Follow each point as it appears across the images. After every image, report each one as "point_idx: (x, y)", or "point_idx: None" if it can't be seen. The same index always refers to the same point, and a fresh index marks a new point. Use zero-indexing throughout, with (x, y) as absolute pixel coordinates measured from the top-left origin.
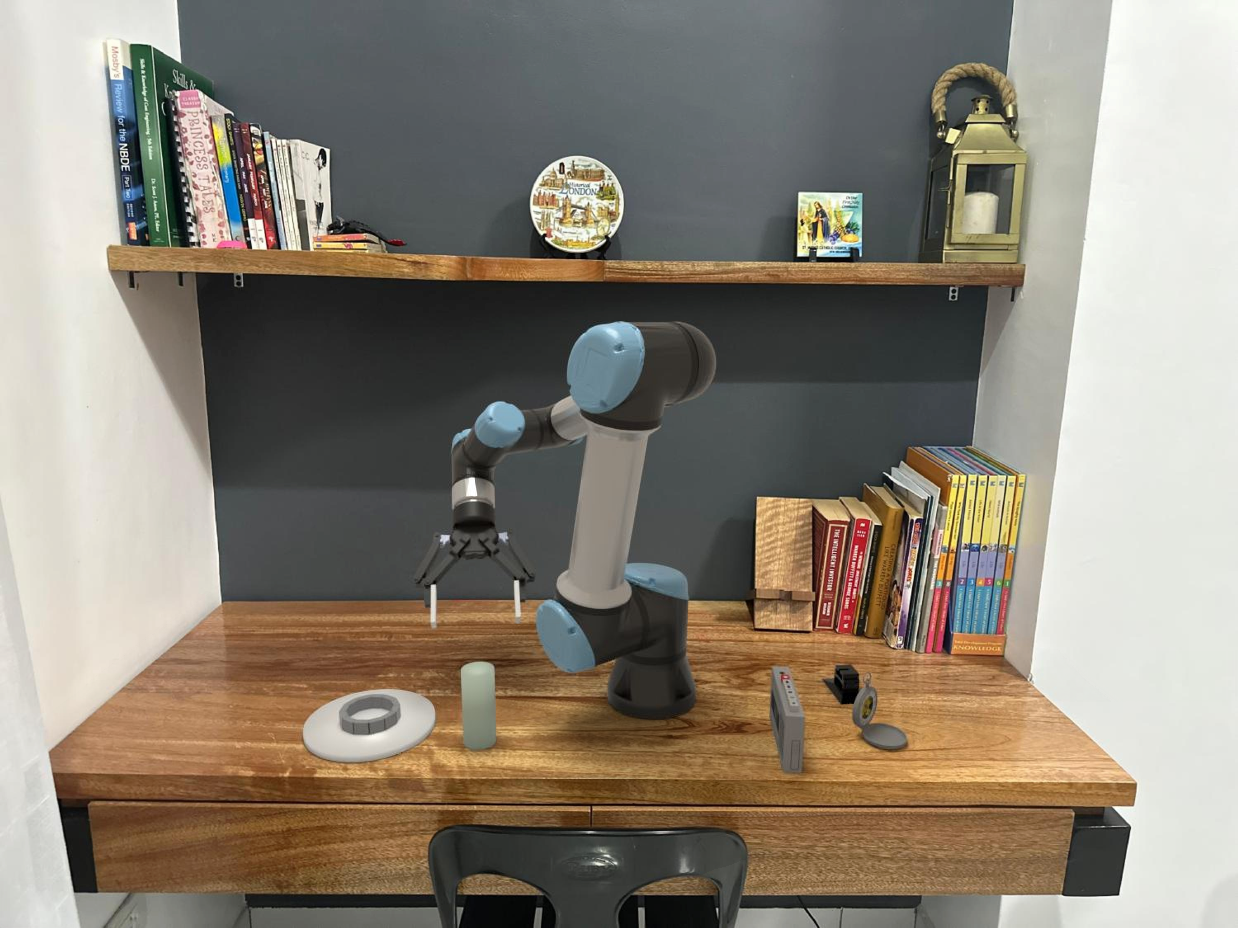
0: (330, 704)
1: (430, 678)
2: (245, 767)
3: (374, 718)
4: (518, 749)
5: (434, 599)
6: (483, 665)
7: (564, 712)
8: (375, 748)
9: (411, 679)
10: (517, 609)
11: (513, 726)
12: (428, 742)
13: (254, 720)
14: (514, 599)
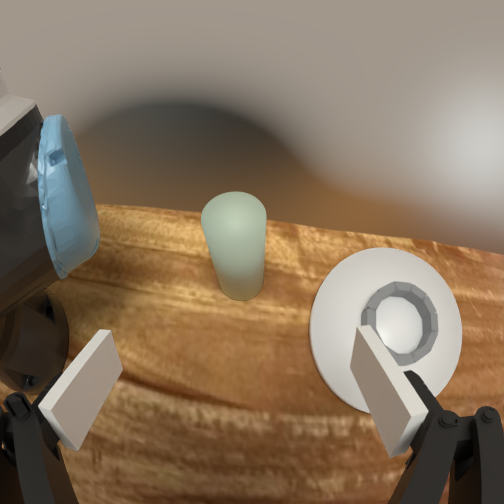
0: (451, 365)
1: (330, 471)
2: (468, 256)
3: (390, 291)
4: (193, 255)
5: (389, 371)
6: (221, 228)
7: (122, 332)
8: (369, 257)
9: (360, 466)
10: (96, 343)
11: (193, 309)
12: (310, 284)
13: (499, 340)
14: (94, 417)
